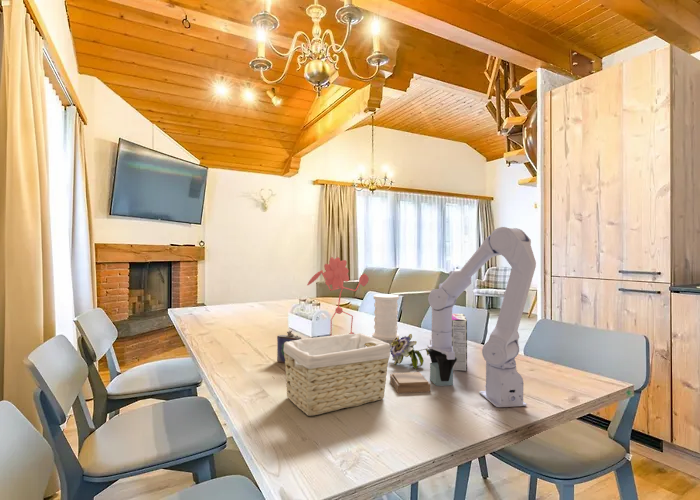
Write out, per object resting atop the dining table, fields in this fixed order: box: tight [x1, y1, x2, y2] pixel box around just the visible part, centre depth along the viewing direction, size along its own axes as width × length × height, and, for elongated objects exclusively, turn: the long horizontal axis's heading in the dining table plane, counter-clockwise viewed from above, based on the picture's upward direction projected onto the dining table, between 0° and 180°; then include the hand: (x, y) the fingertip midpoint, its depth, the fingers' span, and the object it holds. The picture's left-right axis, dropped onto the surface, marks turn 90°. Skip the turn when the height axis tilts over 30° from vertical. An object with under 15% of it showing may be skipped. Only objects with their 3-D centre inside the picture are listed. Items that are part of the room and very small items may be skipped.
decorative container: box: [371, 293, 400, 342], centre depth 164 cm, size 12×12×18 cm
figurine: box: [306, 256, 370, 336], centre depth 147 cm, size 15×26×35 cm, turn 127°
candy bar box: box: [452, 312, 468, 372], centre depth 125 cm, size 11×5×16 cm, turn 168°
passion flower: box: [390, 333, 429, 370], centre depth 127 cm, size 11×11×12 cm
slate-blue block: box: [429, 362, 454, 387], centre depth 110 cm, size 5×5×5 cm
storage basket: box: [283, 332, 391, 417], centre depth 97 cm, size 24×16×15 cm
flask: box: [276, 330, 302, 364], centre depth 127 cm, size 9×3×11 cm, turn 65°
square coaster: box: [389, 371, 431, 394], centre depth 106 cm, size 9×9×2 cm
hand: (441, 377), depth 110 cm, fingers closed on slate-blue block, 5 cm apart
